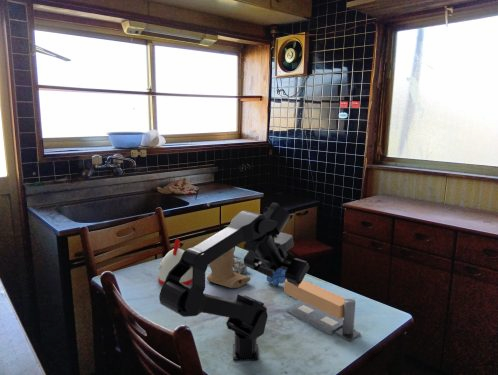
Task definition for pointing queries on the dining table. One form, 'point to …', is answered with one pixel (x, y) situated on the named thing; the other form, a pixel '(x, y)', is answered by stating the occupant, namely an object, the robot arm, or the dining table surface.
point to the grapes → (277, 276)
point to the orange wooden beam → (324, 302)
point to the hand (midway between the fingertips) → (284, 280)
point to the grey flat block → (347, 335)
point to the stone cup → (226, 272)
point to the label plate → (316, 317)
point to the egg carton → (239, 266)
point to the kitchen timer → (173, 265)
